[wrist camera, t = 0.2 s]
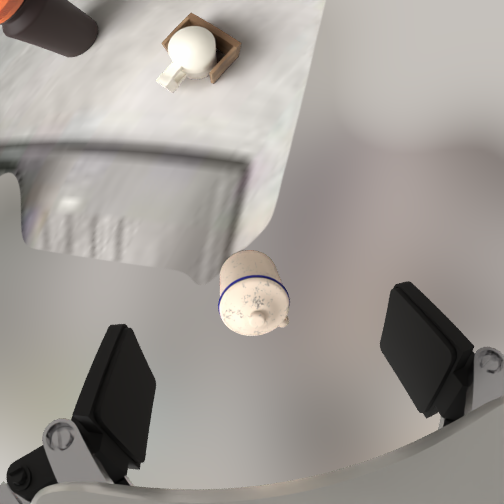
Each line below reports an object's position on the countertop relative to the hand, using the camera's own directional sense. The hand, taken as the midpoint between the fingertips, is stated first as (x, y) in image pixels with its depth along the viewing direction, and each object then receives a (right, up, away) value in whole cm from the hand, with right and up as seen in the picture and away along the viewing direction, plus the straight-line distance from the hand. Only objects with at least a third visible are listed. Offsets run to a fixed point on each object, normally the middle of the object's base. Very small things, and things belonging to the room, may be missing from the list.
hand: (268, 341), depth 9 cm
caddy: (-7, +29, +20) cm, 36 cm away
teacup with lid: (0, -1, +34) cm, 34 cm away
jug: (-9, +27, +21) cm, 35 cm away
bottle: (-26, +34, +16) cm, 46 cm away
